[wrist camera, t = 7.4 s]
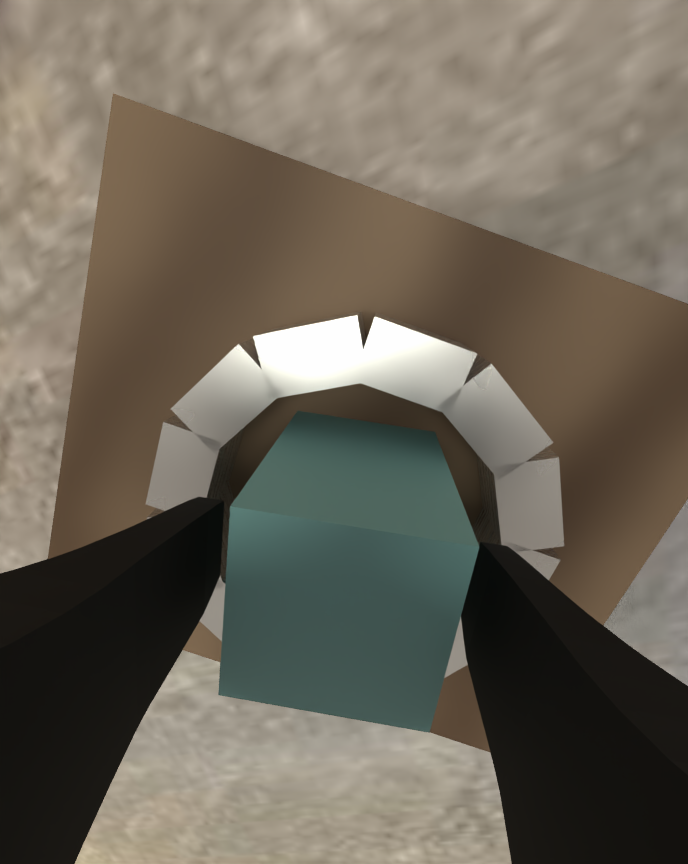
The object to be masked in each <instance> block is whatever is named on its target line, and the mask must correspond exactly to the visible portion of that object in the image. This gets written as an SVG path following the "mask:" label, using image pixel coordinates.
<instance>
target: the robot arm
mask: <svg viewBox="0 0 688 864" xmlns="http://www.w3.org/2000/svg"><path fill="white" fill-rule="evenodd" d="M223 517H224V501H223V500H217V499H211V498H205V497H196V498H194V499H191V500H188V501H186V502H184V503H182V504H179V505H177V506H175V507H173V508H171V509H168V510H166V511H164V512H162V513H160V514H158V515H155V516H153V517H151V518H149V519H147V520H145V521H142V522H140V523H138V524H136V525H134V526H131V527H129V528H127V529H125V530H122V531H120V532H117V533H115V534H112V535H110V536H108V537H105V538H103V539H100V540H98V541H95V542H93V543H90V544H88V545H86V546H83V547H81V548H78V549H75V550H73V551H70V552H67V553H64V554H61V555H59V556H56V557H53V558H50V559H47V560H44V561H40V562H37V563H34V564H31V565H28V566H25V567H22V568H18V569H15V570H12V571H8V572H4V573H0V864H75V861H76V859H77V857H78V854H79V852H80V850H81V848H82V845H83V843H84V841H85V839H86V837H87V834H88V832H89V830H90V828H91V826H92V823H93V821H94V819H95V817H96V815H97V812H98V810H99V808H100V806H101V804H102V802H103V799H104V797H105V795H106V793H107V791H108V788H109V786H110V784H111V782H112V780H113V778H114V776H115V774H116V771H117V769H118V767H119V765H120V763H121V761H122V759H123V757H124V755H125V753H126V750H127V748H128V746H129V744H130V742H131V740H132V738H133V736H134V734H135V732H136V730H137V728H138V726H139V724H140V722H141V720H142V718H143V716H144V715H145V713H146V711H147V709H148V707H149V705H150V704H151V702H152V700H153V699H154V697H155V695H156V694H157V692H158V690H159V689H160V687H161V685H162V684H163V682H164V680H165V679H166V677H167V675H168V673H169V672H170V670H171V668H172V667H173V665H174V663H175V662H176V660H177V658H178V657H179V655H180V653H181V652H182V650H183V648H184V647H185V645H186V643H187V642H188V640H189V638H190V636H191V635H192V633H193V631H194V630H195V628H196V626H197V625H198V623H199V621H200V619H201V618H202V616H203V614H204V612H205V610H206V608H207V605H208V603H209V601H210V599H211V596H212V594H213V592H214V589H215V587H216V584H217V582H218V580H219V577H220V572H221V554H222V536H223ZM461 621H462V630H463V639H464V646H465V653H466V659H467V663H468V668H469V672H470V675H471V679H472V683H473V687H474V691H475V695H476V699H477V703H478V706H479V710H480V714H481V718H482V722H483V725H484V729H485V733H486V737H487V741H488V745H489V748H490V752H491V756H492V760H493V764H494V768H495V772H496V777H497V781H498V786H499V790H500V795H501V801H502V807H503V813H504V819H505V825H506V831H507V837H508V843H509V849H510V855H511V861H512V864H688V686H687V685H685V684H684V683H682V682H681V681H679V680H678V679H676V678H675V677H673V676H672V675H670V674H669V673H667V672H666V671H665V670H663V669H662V668H660V667H659V666H657V665H656V664H654V663H653V662H651V661H650V660H648V659H647V658H646V657H644V656H643V655H641V654H640V653H639V652H637V651H636V650H634V649H633V648H632V647H630V646H629V645H628V644H626V643H625V642H624V641H622V640H621V639H620V638H618V637H617V636H616V635H615V634H613V633H612V632H611V631H609V630H608V629H607V628H605V627H604V626H603V625H602V624H600V623H599V622H598V621H596V620H595V619H594V618H593V617H592V616H590V615H589V614H588V613H587V612H585V611H584V610H583V609H582V608H580V607H579V606H578V605H577V604H576V603H575V602H573V601H572V600H571V599H570V598H569V597H567V596H566V595H565V594H564V593H563V592H562V591H560V590H559V589H558V588H557V587H556V586H555V585H553V584H552V583H551V582H550V581H549V580H548V579H547V578H545V577H544V576H543V575H542V574H541V573H540V572H539V571H537V570H536V569H535V568H534V567H533V566H532V565H530V564H529V563H528V562H527V561H526V560H525V559H523V558H522V557H521V556H520V555H519V554H517V553H516V552H515V551H514V550H512V549H511V548H509V547H508V546H504V545H498V544H492V543H486V542H480V544H479V550H478V554H477V558H476V561H475V565H474V569H473V573H472V576H471V580H470V584H469V587H468V591H467V595H466V599H465V602H464V606H463V610H462V613H461Z"/></svg>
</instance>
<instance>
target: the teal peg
mask: <svg viewBox="0 0 688 864" xmlns="http://www.w3.org/2000/svg"><path fill="white" fill-rule="evenodd" d="M478 550H479V545H478V542H477V539H476V537H475V534H474V532H473V529H472V527H471V524H470V521H469V519H468V516H467V514H466V511H465V508H464V506H463V503H462V501H461V498H460V496H459V493H458V490H457V488H456V485H455V483H454V480H453V477H452V475H451V472H450V470H449V467H448V464H447V462H446V459H445V457H444V454H443V452H442V449H441V446H440V444H439V441H438V439H437V436H436V433H435V432H432V431H426V430H419V429H413V428H406V427H400V426H394V425H387V424H381V423H374V422H368V421H361V420H355V419H348V418H342V417H335V416H329V415H322V414H316V413H309V412H303V411H297V412H296V414H295V415H294V417H293V418H292V419H291V421H290V422H289V424H288V425H287V427H286V428H285V429H284V431H283V432H282V434H281V435H280V436H279V438H278V439H277V441H276V442H275V444H274V445H273V446H272V448H271V449H270V451H269V452H268V453H267V455H266V456H265V458H264V459H263V461H262V462H261V463H260V465H259V466H258V468H257V469H256V470H255V472H254V473H253V475H252V476H251V478H250V479H249V480H248V482H247V483H246V485H245V486H244V488H243V489H242V490H241V492H240V493H239V495H238V496H237V497H236V499H235V500H234V502H233V503H232V505H231V506H230V518H229V534H228V550H227V566H226V582H225V598H224V614H223V631H222V647H221V663H220V679H219V695H222V696H227V697H233V698H238V699H244V700H250V701H255V702H261V703H266V704H272V705H278V706H283V707H289V708H295V709H300V710H306V711H311V712H317V713H323V714H328V715H334V716H339V717H345V718H351V719H356V720H362V721H368V722H373V723H379V724H384V725H390V726H396V727H401V728H407V729H412V730H418V731H424V732H429V733H430V729H431V725H432V721H433V718H434V714H435V710H436V707H437V703H438V699H439V695H440V692H441V688H442V684H443V681H444V677H445V673H446V669H447V666H448V662H449V658H450V654H451V651H452V647H453V643H454V640H455V636H456V632H457V628H458V625H459V621H460V617H461V613H462V610H463V606H464V602H465V599H466V595H467V591H468V587H469V584H470V580H471V576H472V573H473V569H474V565H475V561H476V558H477V554H478Z"/></svg>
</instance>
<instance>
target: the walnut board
mask: <svg viewBox="0 0 688 864" xmlns="http://www.w3.org/2000/svg"><path fill="white" fill-rule="evenodd" d="M356 312H361V313H362V319H363V324H364V330H365V336H366V340H367V337H368V334H369V331H370V328H371V325H372V323H373V320H374V317H375V314H376V313H379V314H382V315H385V316H387V317H390V318H393V319H396V320H398V321H401V322H404V323H407V324H410V325H412V326H415V327H418V328H421V329H424V330H426V331H429V332H432V333H435V334H437V335H440V336H443V337H446V338H449V339H451V340H454V341H457V342H460V343H462V344H463V345H465V346H466V347H468V348H469V349H471V350H473V351H474V352H476V353H477V355H479V356H480V357H482V358H484V359H485V360H487V361H488V362H490V363H491V364H492V365H493V366H494V367H495V369H496V370H497V371H498V373H499V374H500V375H501V376H502V378H503V379H504V380H505V381H506V383H507V384H508V385H509V387H510V388H511V389H512V390H513V392H514V393H515V394H516V395H517V397H518V398H519V399H520V401H521V402H522V403H523V404H524V406H525V407H526V408H527V410H528V411H529V412H530V413H531V415H532V416H533V417H534V418H535V420H536V421H537V422H538V424H539V425H540V426H541V427H542V429H543V430H544V431H545V433H546V434H547V435H548V436H549V438H550V439H551V440H552V441H553V443H552V444H551V445H549V446H548V448H549V449H551V450H552V451H553V452H554V453H555V454H556V455H557V456H558V457H559V466H560V483H561V500H562V517H563V534H564V546H562V547H554V548H553V549H554V551H555V552H556V554H557V555H558V557H559V558H560V562H559V564H558V566H557V567H556V569H555V571H554V572H553V574H552V576H551V577H550V579H549V581H550V582H551V583H552V584H553V585H555V586H556V587H557V588H558V589H559V590H560V591H562V592H563V593H564V594H565V595H566V596H567V597H569V598H570V599H571V600H572V601H573V602H575V603H576V604H577V605H578V606H579V607H580V608H582V609H583V610H584V611H585V612H587V613H588V614H589V615H590V616H592V617H593V618H594V619H595V620H596V621H598V622H599V623H600V624H602V625H604V623H605V622H606V620H607V619H608V617H609V616H610V614H611V613H612V611H613V610H614V608H615V607H616V605H617V604H618V602H619V601H620V599H621V598H622V596H623V595H624V593H625V592H626V590H627V589H628V587H629V586H630V584H631V583H632V581H633V580H634V578H635V577H636V575H637V574H638V572H639V571H640V569H641V568H642V566H643V565H644V563H645V562H646V560H647V559H648V557H649V556H650V554H651V553H652V551H653V550H654V548H655V547H656V545H657V544H658V542H659V541H660V539H661V538H662V536H663V535H664V533H665V532H666V530H667V529H668V527H669V526H670V524H671V523H672V522H673V520H674V519H675V517H676V516H677V514H678V513H679V511H680V510H681V508H682V507H683V505H684V504H685V502H686V501H687V499H688V304H686V303H684V302H681V301H678V300H676V299H673V298H670V297H667V296H665V295H662V294H659V293H656V292H654V291H651V290H648V289H645V288H643V287H640V286H637V285H635V284H632V283H629V282H626V281H624V280H621V279H618V278H615V277H613V276H610V275H607V274H605V273H602V272H599V271H596V270H594V269H591V268H588V267H585V266H583V265H580V264H577V263H575V262H572V261H569V260H566V259H564V258H561V257H558V256H555V255H553V254H550V253H547V252H545V251H542V250H539V249H536V248H534V247H531V246H528V245H525V244H523V243H520V242H517V241H514V240H512V239H509V238H506V237H504V236H501V235H498V234H495V233H493V232H490V231H487V230H484V229H482V228H479V227H476V226H474V225H471V224H468V223H465V222H463V221H460V220H457V219H454V218H452V217H449V216H446V215H444V214H441V213H438V212H435V211H433V210H430V209H427V208H424V207H422V206H419V205H416V204H414V203H411V202H408V201H405V200H403V199H400V198H397V197H394V196H392V195H389V194H386V193H383V192H381V191H378V190H375V189H373V188H370V187H367V186H364V185H362V184H359V183H356V182H353V181H351V180H348V179H345V178H343V177H340V176H337V175H334V174H332V173H329V172H326V171H323V170H321V169H318V168H315V167H313V166H310V165H307V164H304V163H302V162H299V161H296V160H293V159H291V158H288V157H285V156H283V155H280V154H277V153H274V152H272V151H269V150H266V149H263V148H261V147H258V146H255V145H252V144H250V143H247V142H244V141H242V140H239V139H236V138H233V137H231V136H228V135H225V134H222V133H220V132H217V131H214V130H212V129H209V128H206V127H203V126H201V125H198V124H195V123H192V122H190V121H187V120H184V119H182V118H179V117H176V116H173V115H171V114H168V113H165V112H162V111H160V110H157V109H154V108H152V107H149V106H146V105H143V104H141V103H138V102H135V101H132V100H130V99H127V98H124V97H121V96H119V95H116V94H113V97H112V105H111V112H110V119H109V126H108V133H107V140H106V147H105V155H104V162H103V169H102V176H101V183H100V190H99V197H98V205H97V212H96V219H95V226H94V233H93V240H92V247H91V254H90V262H89V269H88V276H87V283H86V290H85V297H84V304H83V312H82V319H81V326H80V333H79V340H78V347H77V354H76V361H75V369H74V376H73V383H72V390H71V397H70V404H69V411H68V419H67V426H66V433H65V440H64V447H63V454H62V461H61V468H60V476H59V483H58V490H57V497H56V504H55V511H54V518H53V526H52V533H51V540H50V547H49V554H48V559H50V558H53V557H56V556H59V555H61V554H64V553H67V552H70V551H73V550H75V549H78V548H81V547H83V546H86V545H88V544H90V543H93V542H95V541H98V540H100V539H103V538H105V537H108V536H110V535H112V534H115V533H117V532H120V531H122V530H125V529H127V528H129V527H131V526H134V525H136V524H138V523H140V522H142V521H145V520H147V517H148V516H149V515H150V514H151V513H152V512H153V511H154V510H155V509H156V508H155V507H152V506H149V505H146V500H147V495H148V490H149V486H150V481H151V476H152V472H153V467H154V462H155V458H156V453H157V449H158V444H159V439H160V435H161V430H162V425H163V422H164V421H166V420H167V419H169V418H171V417H172V416H174V415H176V414H175V413H174V412H173V411H172V410H171V408H172V407H173V406H174V405H175V404H176V403H177V402H178V401H179V400H180V399H181V398H182V397H183V396H184V395H186V394H187V393H188V392H189V391H190V390H191V389H192V388H193V387H194V386H195V385H196V384H197V383H198V382H199V381H200V380H201V379H202V378H203V377H204V376H205V375H206V374H207V373H208V372H210V371H211V370H212V369H213V368H214V367H215V366H216V365H217V364H218V363H219V362H220V361H221V360H222V359H223V358H224V357H225V356H226V355H227V354H228V353H229V352H230V351H231V350H232V349H234V348H235V347H236V346H237V345H238V344H239V343H242V342H245V341H248V340H250V339H253V338H254V337H253V336H255V335H258V334H261V333H264V332H267V331H270V330H273V329H276V328H281V327H286V326H291V325H296V324H301V323H306V322H311V321H316V320H321V319H326V318H331V317H336V316H341V315H346V314H351V313H356ZM297 411H303V412H309V413H316V414H322V415H329V416H335V417H342V418H348V419H355V420H361V421H368V422H374V423H381V424H387V425H394V426H400V427H406V428H413V429H419V430H426V431H432V432H435V433H436V436H437V439H438V441H439V444H440V446H441V449H442V452H443V454H444V457H445V459H446V462H447V464H448V467H449V470H450V472H451V475H452V477H453V480H454V483H455V485H456V488H457V490H458V493H459V496H460V498H461V501H462V503H463V506H464V508H465V511H466V514H467V516H468V519H469V521H470V524H471V527H473V525H474V523H475V521H476V519H477V517H478V515H479V513H480V511H481V509H482V507H483V506H482V497H481V488H480V480H479V471H478V463H477V454H476V452H475V451H474V450H473V448H472V447H471V446H470V445H469V444H468V442H467V441H466V440H465V439H464V438H463V436H462V435H461V434H460V433H459V432H458V430H457V429H456V428H455V427H454V426H453V424H452V423H451V422H450V421H449V419H448V418H447V417H446V416H445V415H444V413H443V412H441V411H438V410H435V409H432V408H429V407H426V406H424V405H421V404H418V403H415V402H412V401H409V400H407V399H404V398H401V397H398V396H395V395H393V394H390V393H387V392H384V391H381V390H378V389H376V388H373V387H370V386H367V385H364V384H361V383H359V384H353V385H348V386H342V387H336V388H331V389H325V390H320V391H314V392H308V393H303V394H297V395H292V396H286V397H280V398H277V399H275V400H274V401H273V402H272V403H271V404H270V405H269V406H268V407H266V408H265V409H264V410H263V411H262V412H261V413H260V414H258V415H257V416H256V417H255V418H254V419H253V420H252V421H251V422H249V423H248V424H247V425H246V426H245V427H244V431H243V434H242V438H241V441H240V445H239V448H238V452H237V456H236V459H235V463H234V466H233V470H232V473H231V477H230V480H229V484H230V487H231V491H232V494H233V498H234V500H235V499H236V497H237V496H238V495H239V493H240V492H241V490H242V489H243V488H244V486H245V485H246V483H247V482H248V480H249V479H250V478H251V476H252V475H253V473H254V472H255V470H256V469H257V468H258V466H259V465H260V463H261V462H262V461H263V459H264V458H265V456H266V455H267V453H268V452H269V451H270V449H271V448H272V446H273V445H274V444H275V442H276V441H277V439H278V438H279V436H280V435H281V434H282V432H283V431H284V429H285V428H286V427H287V425H288V424H289V422H290V421H291V419H292V418H293V417H294V415H295V414H296V412H297ZM221 647H222V641H221V640H220V639H218V638H217V637H216V636H215V635H214V634H213V633H212V632H211V631H210V630H209V629H208V628H207V627H205V626H204V625H203V624H202V623H201V622H200V621H199V623H198V625H197V626H196V628H195V630H194V631H193V633H192V635H191V636H190V638H189V640H188V642H187V643H186V645H185V647H184V648H183V650H185V651H188V652H191V653H194V654H197V655H200V656H203V657H206V658H209V659H212V660H215V661H218V662H221ZM430 732H431V733H434V734H437V735H440V736H443V737H446V738H449V739H452V740H455V741H458V742H461V743H464V744H467V745H470V746H473V747H476V748H479V749H482V750H485V751H488V752H490V748H489V745H488V741H487V737H486V733H485V729H484V725H483V722H482V718H481V714H480V710H479V706H478V703H477V699H476V695H475V691H474V687H473V683H472V679H471V675H470V672H469V668H468V665H466V666H465V667H463V668H461V669H459V670H458V671H456V672H454V673H452V674H451V675H449V676H447V677H445V678H444V681H443V684H442V688H441V692H440V695H439V699H438V703H437V707H436V710H435V714H434V718H433V721H432V725H431V729H430Z"/></svg>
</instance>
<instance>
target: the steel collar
mask: <svg viewBox="0 0 688 864" xmlns="http://www.w3.org/2000/svg"><path fill="white" fill-rule="evenodd" d="M253 337H254V338H253V339H250V340H248V341H245V342H242V343H239V344H238V345H237V346H236V347H235V348H234V349H232V350H231V351H230V352H229V353H228V354H227V355H226V356H225V357H224V358H223V359H222V360H221V361H220V362H219V363H218V364H217V365H216V366H215V367H214V368H213V369H212V370H211V371H210V372H208V373H207V374H206V375H205V376H204V377H203V378H202V379H201V380H200V381H199V382H198V383H197V384H196V385H195V386H194V387H193V388H192V389H191V390H190V391H189V392H188V393H187V394H186V395H184V396H183V397H182V398H181V399H180V400H179V401H178V402H177V403H176V404H175V405H174V406H173V407H172V408H171V410H172V411H173V412H174V413H175V414H176V415H174V416H172V417H171V418H169V419H167V420H166V421H164V422H163V425H162V430H161V435H160V439H159V444H158V449H157V453H156V458H155V462H154V467H153V472H152V476H151V481H150V486H149V490H148V495H147V500H146V505H149V506H152V507H155V508H156V509H155V510H154V511H153V512H152V513H151V514H150V515H149V516H148V517H147V519H149V518H151V517H153V516H155V515H158V514H160V513H162V512H164V511H166V510H168V509H171V508H173V507H175V506H177V505H179V504H182V503H184V502H186V501H188V500H191V499H194V498H196V497H205V498H211V499H217V500H223V501H224V517H223V536H222V554H221V572H220V577H219V580H218V582H217V584H216V587H215V589H214V592H213V594H212V596H211V599H210V601H209V603H208V605H207V608H206V610H205V612H204V614H203V616H202V618H201V619H200V622H201V623H202V624H203V625H204V626H205V627H207V628H208V629H209V630H210V631H211V632H212V633H213V634H214V635H215V636H216V637H217V638H218V639H220V640H221V641H222V631H223V614H224V598H225V582H226V566H227V550H228V534H229V518H230V506H231V505H232V503H233V502H234V498H233V494H232V491H231V487H230V484H229V480H230V477H231V473H232V470H233V466H234V463H235V459H236V456H237V452H238V448H239V445H240V441H241V438H242V434H243V431H244V427H245V426H246V425H247V424H248V423H249V422H251V421H252V420H253V419H254V418H255V417H256V416H257V415H258V414H260V413H261V412H262V411H263V410H264V409H265V408H266V407H268V406H269V405H270V404H271V403H272V402H273V401H274V400H275V399H277V398H280V397H286V396H292V395H297V394H303V393H308V392H314V391H320V390H325V389H331V388H336V387H342V386H348V385H353V384H359V383H361V384H364V385H367V386H370V387H373V388H376V389H378V390H381V391H384V392H387V393H390V394H393V395H395V396H398V397H401V398H404V399H407V400H409V401H412V402H415V403H418V404H421V405H424V406H426V407H429V408H432V409H435V410H438V411H441V412H443V413H444V415H445V416H446V417H447V418H448V419H449V421H450V422H451V423H452V424H453V426H454V427H455V428H456V429H457V430H458V432H459V433H460V434H461V435H462V436H463V438H464V439H465V440H466V441H467V442H468V444H469V445H470V446H471V447H472V448H473V450H474V451H475V452H476V454H477V463H478V471H479V480H480V488H481V497H482V506H483V507H482V509H481V511H480V513H479V515H478V517H477V519H476V521H475V523H474V525H473V527H472V529H473V532H474V534H475V537H476V539H477V542H478V545H479V544H480V542H486V543H492V544H498V545H504V546H508V547H509V548H511V549H512V550H514V551H515V552H516V553H517V554H519V555H520V556H521V557H522V558H523V559H525V560H526V561H527V562H528V563H529V564H530V565H532V566H533V567H534V568H535V569H536V570H537V571H539V572H540V573H541V574H542V575H543V576H544V577H545V578H547V579H548V580H549V579H550V577H551V576H552V574H553V572H554V571H555V569H556V567H557V566H558V564H559V562H560V558H559V557H558V555H557V554H556V552H555V551H554V549H553V548H554V547H562V546H564V534H563V517H562V500H561V483H560V466H559V457H558V456H557V455H556V454H555V453H554V452H553V451H552V450H551V449H549V448H548V446H549V445H551V444H552V443H553V441H552V440H551V439H550V438H549V436H548V435H547V434H546V433H545V431H544V430H543V429H542V427H541V426H540V425H539V424H538V422H537V421H536V420H535V418H534V417H533V416H532V415H531V413H530V412H529V411H528V410H527V408H526V407H525V406H524V404H523V403H522V402H521V401H520V399H519V398H518V397H517V395H516V394H515V393H514V392H513V390H512V389H511V388H510V387H509V385H508V384H507V383H506V381H505V380H504V379H503V378H502V376H501V375H500V374H499V373H498V371H497V370H496V369H495V367H494V366H493V365H492V364H491V363H490V362H488V361H487V360H485V359H484V358H482V357H480V356H479V355H477V353H476V352H474V351H473V350H471V349H469V348H468V347H466V346H465V345H463V344H462V343H460V342H457V341H454V340H451V339H449V338H446V337H443V336H440V335H437V334H435V333H432V332H429V331H426V330H424V329H421V328H418V327H415V326H412V325H410V324H407V323H404V322H401V321H398V320H396V319H393V318H390V317H387V316H385V315H382V314H379V313H376V314H375V317H374V320H373V323H372V325H371V328H370V331H369V334H368V337H367V340H366V336H365V330H364V324H363V319H362V313H361V312H356V313H351V314H346V315H341V316H336V317H331V318H326V319H321V320H316V321H311V322H306V323H301V324H296V325H291V326H286V327H281V328H276V329H273V330H270V331H267V332H264V333H261V334H258V335H255V336H253ZM466 665H468V663H467V659H466V653H465V646H464V639H463V630H462V621H461V617H460V621H459V625H458V628H457V632H456V636H455V640H454V643H453V647H452V651H451V654H450V658H449V662H448V666H447V669H446V673H445V677H447V676H449V675H451V674H452V673H454V672H456V671H458V670H459V669H461V668H463V667H465V666H466ZM445 677H444V678H445Z"/></svg>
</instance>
